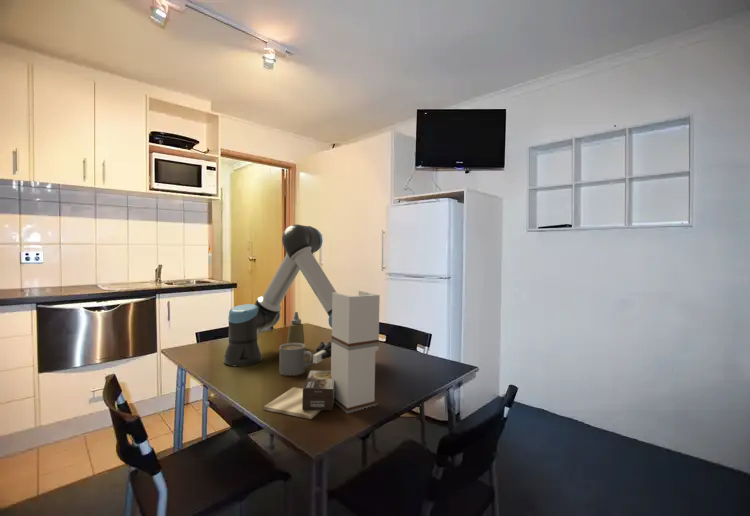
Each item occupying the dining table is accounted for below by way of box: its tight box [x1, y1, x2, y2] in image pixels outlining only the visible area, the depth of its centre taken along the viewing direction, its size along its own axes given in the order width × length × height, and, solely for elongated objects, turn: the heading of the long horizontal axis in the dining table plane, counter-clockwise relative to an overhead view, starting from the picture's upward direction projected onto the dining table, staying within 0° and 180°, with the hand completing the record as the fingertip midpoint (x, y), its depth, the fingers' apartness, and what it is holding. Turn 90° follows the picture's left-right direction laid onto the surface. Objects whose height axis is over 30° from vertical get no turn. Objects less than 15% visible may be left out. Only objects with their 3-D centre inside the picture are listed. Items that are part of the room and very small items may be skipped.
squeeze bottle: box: [286, 311, 305, 345], centre depth 169 cm, size 8×8×18 cm
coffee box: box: [302, 370, 335, 411], centre depth 111 cm, size 9×6×16 cm
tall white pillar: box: [330, 290, 381, 414], centre depth 111 cm, size 11×11×35 cm
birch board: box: [263, 387, 322, 420], centre depth 110 cm, size 16×16×1 cm
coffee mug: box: [278, 343, 314, 377], centre depth 138 cm, size 13×10×10 cm
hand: (314, 359), depth 119 cm, fingers closed
